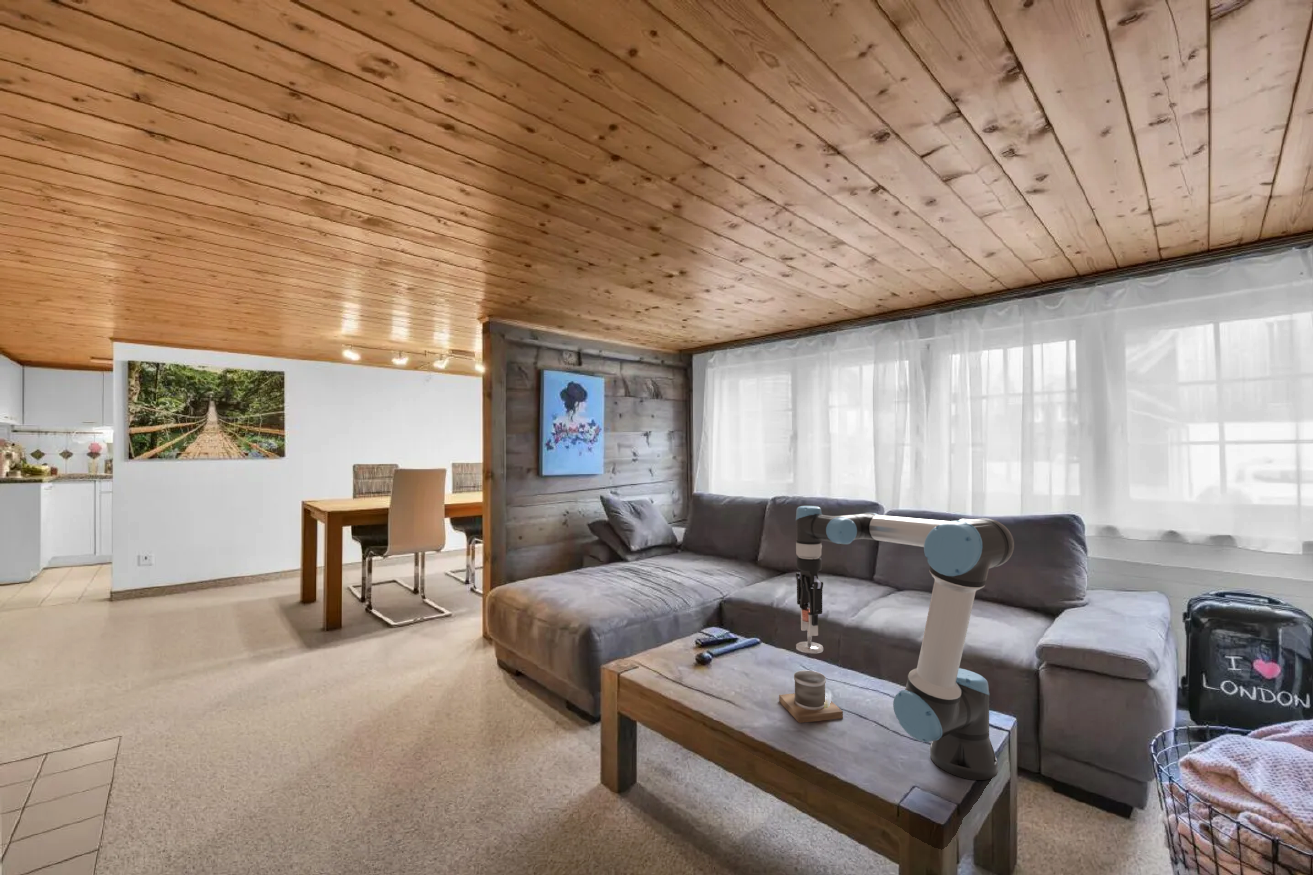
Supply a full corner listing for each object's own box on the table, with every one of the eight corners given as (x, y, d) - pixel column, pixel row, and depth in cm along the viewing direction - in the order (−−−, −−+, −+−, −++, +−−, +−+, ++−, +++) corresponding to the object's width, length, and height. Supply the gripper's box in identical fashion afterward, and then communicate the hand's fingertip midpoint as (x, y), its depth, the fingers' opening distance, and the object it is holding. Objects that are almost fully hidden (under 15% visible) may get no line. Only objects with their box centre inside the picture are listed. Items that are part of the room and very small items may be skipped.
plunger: (828, 652, 167) (827, 613, 167) (803, 654, 165) (803, 614, 165) (815, 643, 174) (815, 605, 175) (791, 645, 173) (791, 607, 173)
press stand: (842, 718, 164) (842, 684, 164) (799, 722, 161) (798, 688, 161) (819, 696, 178) (819, 665, 178) (779, 701, 175) (778, 669, 175)
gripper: (834, 561, 162) (835, 641, 162) (807, 550, 179) (807, 622, 179) (811, 562, 161) (811, 643, 160) (785, 551, 178) (785, 624, 178)
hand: (809, 632), depth 170 cm, fingers closed on plunger, 4 cm apart
